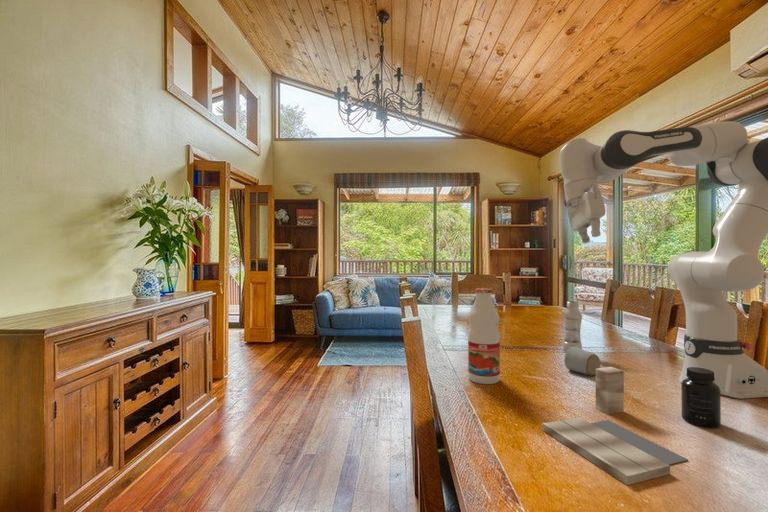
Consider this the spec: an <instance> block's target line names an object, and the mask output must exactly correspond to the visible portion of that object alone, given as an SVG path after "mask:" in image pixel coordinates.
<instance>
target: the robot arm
mask: <svg viewBox="0 0 768 512" xmlns="http://www.w3.org/2000/svg"><path fill="white" fill-rule="evenodd" d="M558 153H559V154H558V158H559V159H558V160H559V169H560V176H561V177H562V179H563V191H564V201H563V203H564V204H563V205H564V206H563V207H564V209H567V212H566V213H567V217H568V220H569V224H570V227H571V230H572V231H573V232H578V235H579V237H580V239H581V243H582V244H589V243H590V242H591V237H593V238H598V237H600V236H601V219H602V218H603V217H605V215H606V212H607V211H606V210H607V209H606V205H605V202H604V199H603V195H602V192H601V190H600V186H599V183H602V184H603V183H609V182H612V181H614V180H616V179H618V178H619V177H621V176H622V175H623V174H624V173H626V172H627V171H629V170H630V169H631V168H633V167H634V166H636V165H638V164H640V162H643V161H644V160H645V159H646V158H649V157H654V156H659V155H660V156H661V155H665V156H666V158H667V159H668V161H669V162H670V163H671V164H672V165H675V166H677V167H688V166H690V167H691V166H696V165H701V164H706V169H707V170H706V172H707V175H708V177H709V179H710V180H711V182H713V183H714V184H716V185H719V186H724V187H726V186H727V187H729V186H730V187H734V186H738V191H737V192H736V193H737V194H736V196H735V197H734V198H733V199H732V201H731V202H730V203H728V206H727V207H726V209H725V210H724V212H723V213H722V215H720V217H719V218H718V220H717V221H716V223H715V224H714V225H713V228H712V234H713V236H714V237H715V238H716V239H715V243H714V245H713V247H712V248H711V249H710V250H708V251H689V252H688V251H687V252H684V253H680V254H678V255H675V256H673V257H672V258H671V259H670V260H669V261H668V264H667V274H668V276H669V277H670V279H671V280H672V281H673V282H674V283H675V285H676V286H677V288H678V290H679V292H680V295H681V299H682V301H683V304H684V311H685V334H684V337H683V348H684V352H685V354H684V359H683V360H684V361H683V365H682V370H681V373H680V376H679V378H678V381H679V383H682V381H683V380H684V379H687V378H688V377H687V376H686V374H687V368H689V367H698V368H704V369H708V370H711V371H713V372H714V378H715V381H713V382H714V383H715V384H717V385H718V386H719V388H720V391H721V395H722V396H726V397H731V398H734V399H741V400H742V399H753V398H754V399H755V398H764V397H765V398H768V369H766V367H764V365H763V366H762V365H761V364H759V363H758V362H757V361H756V360H754V359H753V358H751V357H750V356H748V355H747V354H746V353H745V351H744V349H746V350H748V351H752V350H753V349H754V348H755V347H754V346H755V345H754V344H753V343H752V342H748V341H746V340H745V341H740V340H739V339H738V314H737V311H736V310H735V308H734V307H732V306H731V305H730V304H729V303H728V301H727V300H726V298H725V296H724V293H723V292H728V293H730V292H731V293H733V292H744V291H749V290H753V289H755V288H757V287H759V285H760V284H761V283H762V282H763V280H764V277H765V266H764V263H763V262H762V261H761V260H760V259H759V251H760V249H761V245H762V244H763V241H764V240H765V238H766V237H767V236H768V137H764V138H763V139H760V140H755V141H750V140H748V130H747V129H746V127H745V126H744V124H742V123H740V122H737V121H732V120H731V121H727V120H725V121H715V122H708V123H703V124H702V123H701V124H696V125H691V126H683V127H675V128H668V129H660V130H654V131H653V130H652V131H638V130H630V129H628V130H627V129H625V130H620V131H617V132H614V133H613V134H612V135H610V137H608V138H607V140H606V141H604V143H603V145H602V146H600V145H597V144H594V143H592V142H590V141H588V139H586V138H583V137H582V138H580V137H579V138H576V139H573V140H571V141H570V142H567V143H566V144H565V145H563V147H562V148H561V149H560V150H559V152H558ZM589 227H591V231H590V233H591V237H590V236H589V235H588V228H589Z"/></svg>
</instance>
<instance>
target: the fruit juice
mask: <svg viewBox="0 0 768 512" xmlns="http://www.w3.org/2000/svg"><path fill="white" fill-rule="evenodd" d="M474 292H475V295H476V296H475V298H474V299H475V300H474V302H473V305H472V308H471V309H470V311H469V313H468V323H469V329H468V332H467V333H468V334H467V340H468V342H467V347H468V348H467V352H468V353H467V359H468V362H467V364H468V365H467V369H468V370H467V371H468V375H467V376H468V379H469V380H470V381H471V382H473V383H476V384H481V385H494V384H498V383H499V382H500V380H501V379H500V378H501V365H500V364H501V349H500V348H501V345H500V344H501V337H500V336H501V335H500V331H499V329H498V328H499V327H498V326H499V322H500V316H499V313H498V311H497V309H496V307H495V305H494V302H493V298H492V294H493V289H492V288H485V287H484V288H483V287H478V288H475V291H474Z"/></svg>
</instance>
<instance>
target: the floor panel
mask: <svg viewBox="0 0 768 512" xmlns="http://www.w3.org/2000/svg"><path fill="white" fill-rule="evenodd" d="M591 423H592V422H588V421H587V420H585V419H583V418H581V417H579V416H577V417H571V418H566V419H560V420H555V421H549V422H542V431H543V432H544V433H545V434H547V435H549V436H550V437H552V438H554V439H555V440H557V441H558V442H559V443H562V444H563V445H564V446H566V447H568V448H569V449H571V450H572V451H574V452H575V453H577V454H578V455H580V456H582V457H583V458H584V459H586V460H588V461H589V462H591V463H593V464H594V465H595V466H597V467H599V468H600V469H601V470H603V471H604V472H606V473H608V474H609V475H610V476H612V477H614V478H615V479H617V480H619V481H620V482H622V483H623V484H625V485H626V486H629V485H634V484H637V483H641V482H645V481H649V480H652V479H655V478H660V477H663V476H667V475H670V474H671V465H668V464H666V463H664V462H662V461H661V460H659V459H657V458H655V457H653V456H651V455H649V454H647V453H645V452H644V451H642V450H640V449H638V448H636V447H634V446H632V445H630V444H628V443H627V442H625V441H623V440H621V439H619V438H617V437H615V436H613V435H611V434H610V433H608V432H606V431H604V430H602V429H600V428H598V427H596V426H594V425H593V424H591Z"/></svg>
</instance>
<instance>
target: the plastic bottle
mask: <svg viewBox="0 0 768 512" xmlns="http://www.w3.org/2000/svg"><path fill="white" fill-rule="evenodd" d="M578 304H579V303H578V301H573V300H569V301H566V307H567V308H566V309H565V310H564V312H563V314H562V317H563V325H564V336H563V337H564V338H563V343H562V349H563V352H564V353H565V354H566V352H567V350H568V349H569V348H571V347H576V348H579V349H582V350H583V346H582V341H581V340H582V338H581V327H582V319H583V315H582V314H583V313H581V311H580V310H579V309H578V307H579V305H578Z"/></svg>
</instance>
